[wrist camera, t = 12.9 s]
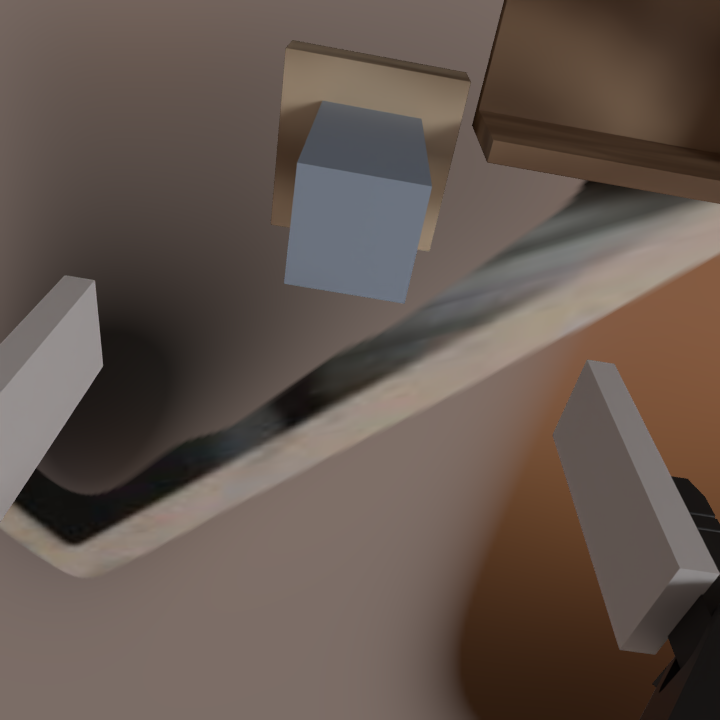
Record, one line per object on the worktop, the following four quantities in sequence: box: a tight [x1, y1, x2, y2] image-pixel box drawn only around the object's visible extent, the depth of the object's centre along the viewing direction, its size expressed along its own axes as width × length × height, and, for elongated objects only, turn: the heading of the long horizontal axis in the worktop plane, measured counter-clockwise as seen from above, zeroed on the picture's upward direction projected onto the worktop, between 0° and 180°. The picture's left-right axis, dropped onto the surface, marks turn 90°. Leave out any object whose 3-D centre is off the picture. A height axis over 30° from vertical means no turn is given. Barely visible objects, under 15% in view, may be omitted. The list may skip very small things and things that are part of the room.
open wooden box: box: [472, 0, 720, 204], centre depth 28 cm, size 13×16×6 cm
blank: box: [284, 101, 432, 303], centre depth 28 cm, size 5×5×10 cm
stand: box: [271, 40, 471, 251], centre depth 33 cm, size 9×9×2 cm
